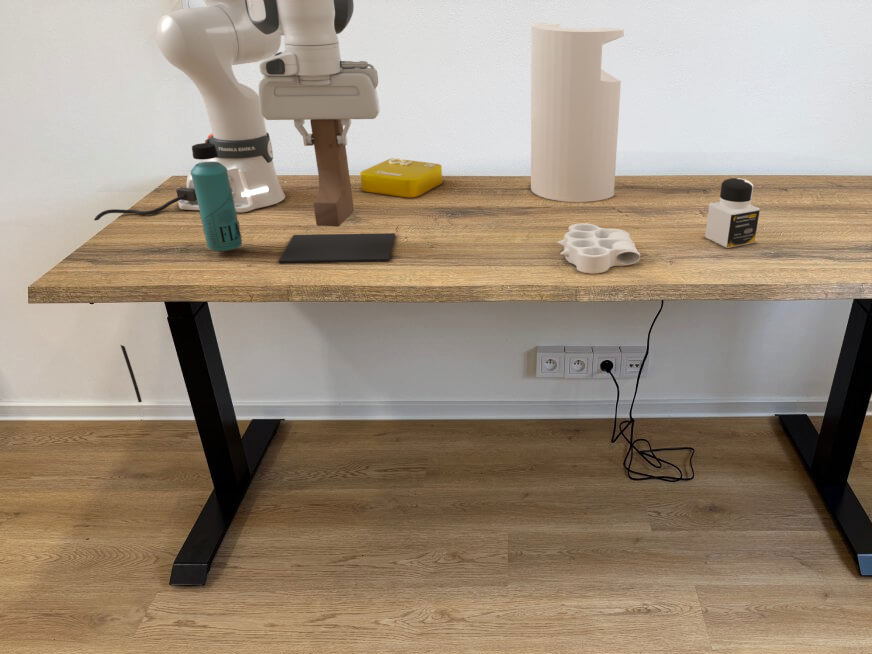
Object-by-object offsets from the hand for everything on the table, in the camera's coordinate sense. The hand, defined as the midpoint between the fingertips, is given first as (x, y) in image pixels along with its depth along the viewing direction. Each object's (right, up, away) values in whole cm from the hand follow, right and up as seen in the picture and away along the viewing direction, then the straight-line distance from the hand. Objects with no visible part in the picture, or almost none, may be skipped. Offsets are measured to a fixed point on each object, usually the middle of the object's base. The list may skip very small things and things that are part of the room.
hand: (325, 144), depth 138 cm
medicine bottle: (+77, -14, +17) cm, 79 cm away
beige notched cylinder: (+44, +3, +42) cm, 61 cm away
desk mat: (0, -17, +10) cm, 20 cm away
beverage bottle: (-21, -18, +8) cm, 29 cm away
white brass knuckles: (+49, -18, +9) cm, 53 cm away
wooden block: (0, -12, +7) cm, 14 cm away
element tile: (+6, +5, +46) cm, 46 cm away
